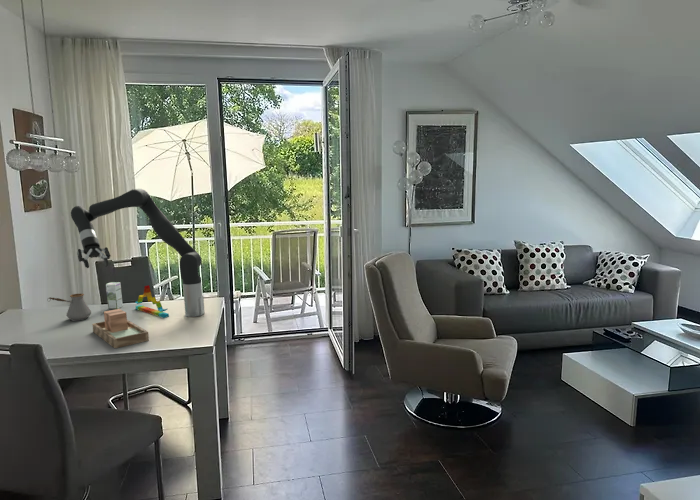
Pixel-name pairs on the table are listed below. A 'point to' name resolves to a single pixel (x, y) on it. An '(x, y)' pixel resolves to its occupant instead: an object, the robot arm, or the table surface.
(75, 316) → the coffee pot
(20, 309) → the table surface
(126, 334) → the pad
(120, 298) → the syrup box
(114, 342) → the trough
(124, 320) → the block
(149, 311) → the multicoloured triangular frame
